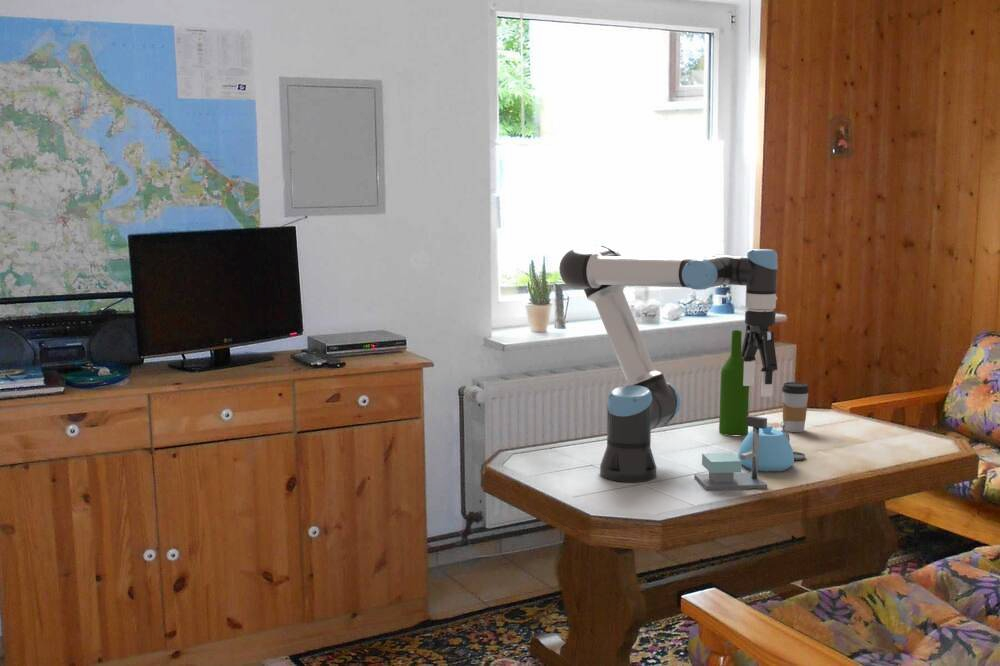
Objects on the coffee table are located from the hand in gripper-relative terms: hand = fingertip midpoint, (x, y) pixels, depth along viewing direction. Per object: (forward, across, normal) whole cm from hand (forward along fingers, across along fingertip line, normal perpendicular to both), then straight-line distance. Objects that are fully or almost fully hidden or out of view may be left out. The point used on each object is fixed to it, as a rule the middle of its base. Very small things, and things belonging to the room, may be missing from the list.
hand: (757, 391), depth 254 cm
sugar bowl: (+25, +15, -9) cm, 30 cm away
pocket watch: (+25, +23, -19) cm, 38 cm away
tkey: (+23, -2, +2) cm, 23 cm away
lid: (+20, 0, +9) cm, 22 cm away
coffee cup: (+25, +53, -32) cm, 66 cm away
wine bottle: (+25, +52, -12) cm, 59 cm away
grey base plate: (+24, 0, +6) cm, 25 cm away
